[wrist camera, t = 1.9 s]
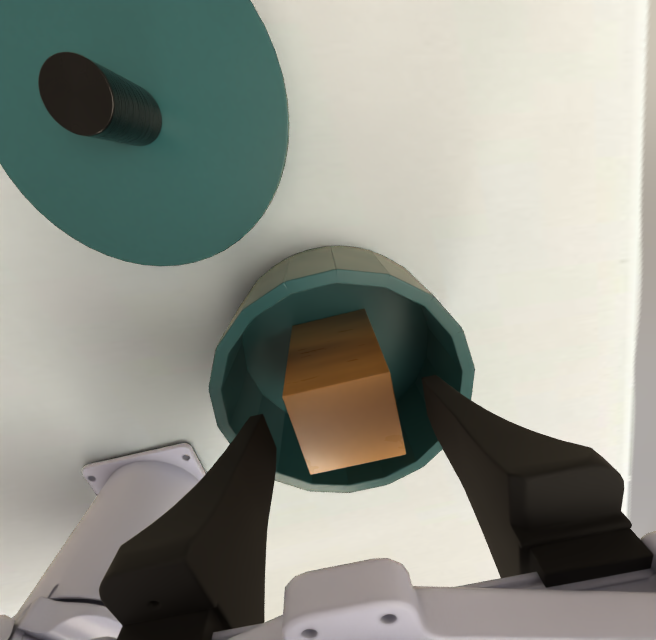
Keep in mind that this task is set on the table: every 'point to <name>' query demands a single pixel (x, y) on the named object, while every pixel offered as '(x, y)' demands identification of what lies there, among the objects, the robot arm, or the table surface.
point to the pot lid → (143, 121)
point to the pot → (322, 302)
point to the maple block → (341, 394)
